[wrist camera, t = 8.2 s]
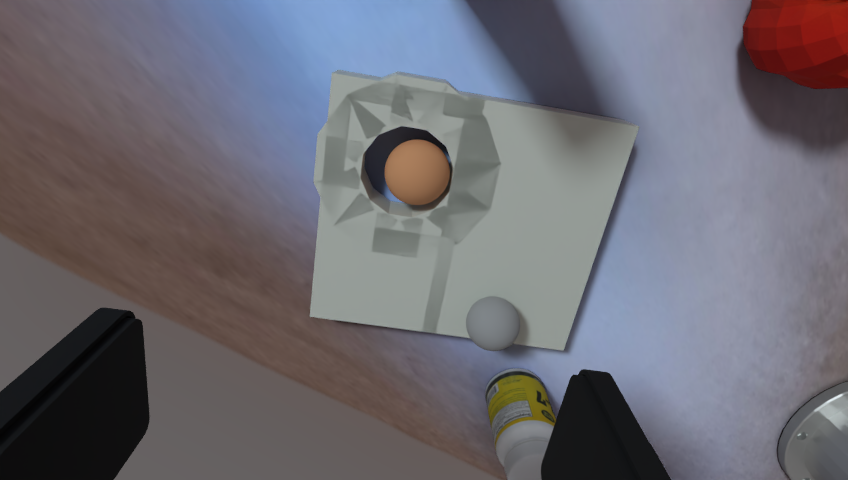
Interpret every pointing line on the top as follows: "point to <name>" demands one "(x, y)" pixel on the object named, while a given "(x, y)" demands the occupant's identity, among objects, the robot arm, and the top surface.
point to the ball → (417, 172)
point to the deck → (463, 209)
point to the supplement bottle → (519, 422)
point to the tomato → (800, 40)
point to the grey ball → (493, 323)
